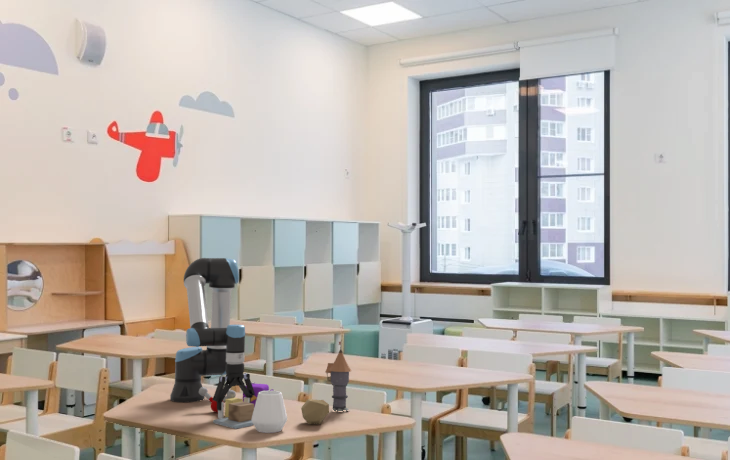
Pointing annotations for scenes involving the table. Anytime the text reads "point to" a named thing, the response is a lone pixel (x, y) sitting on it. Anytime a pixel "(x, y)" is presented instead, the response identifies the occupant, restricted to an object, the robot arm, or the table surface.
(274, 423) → the white faceted vase
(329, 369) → the model tower
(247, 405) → the walnut block
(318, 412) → the low-poly potato
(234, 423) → the plate
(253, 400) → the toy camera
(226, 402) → the mustard block
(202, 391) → the molecular model
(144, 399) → the table surface
